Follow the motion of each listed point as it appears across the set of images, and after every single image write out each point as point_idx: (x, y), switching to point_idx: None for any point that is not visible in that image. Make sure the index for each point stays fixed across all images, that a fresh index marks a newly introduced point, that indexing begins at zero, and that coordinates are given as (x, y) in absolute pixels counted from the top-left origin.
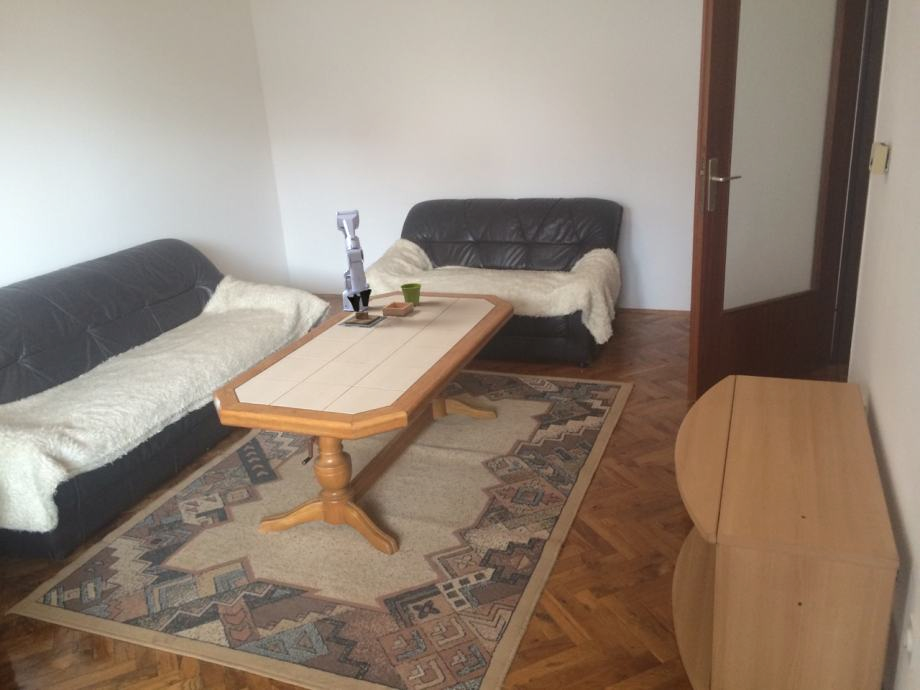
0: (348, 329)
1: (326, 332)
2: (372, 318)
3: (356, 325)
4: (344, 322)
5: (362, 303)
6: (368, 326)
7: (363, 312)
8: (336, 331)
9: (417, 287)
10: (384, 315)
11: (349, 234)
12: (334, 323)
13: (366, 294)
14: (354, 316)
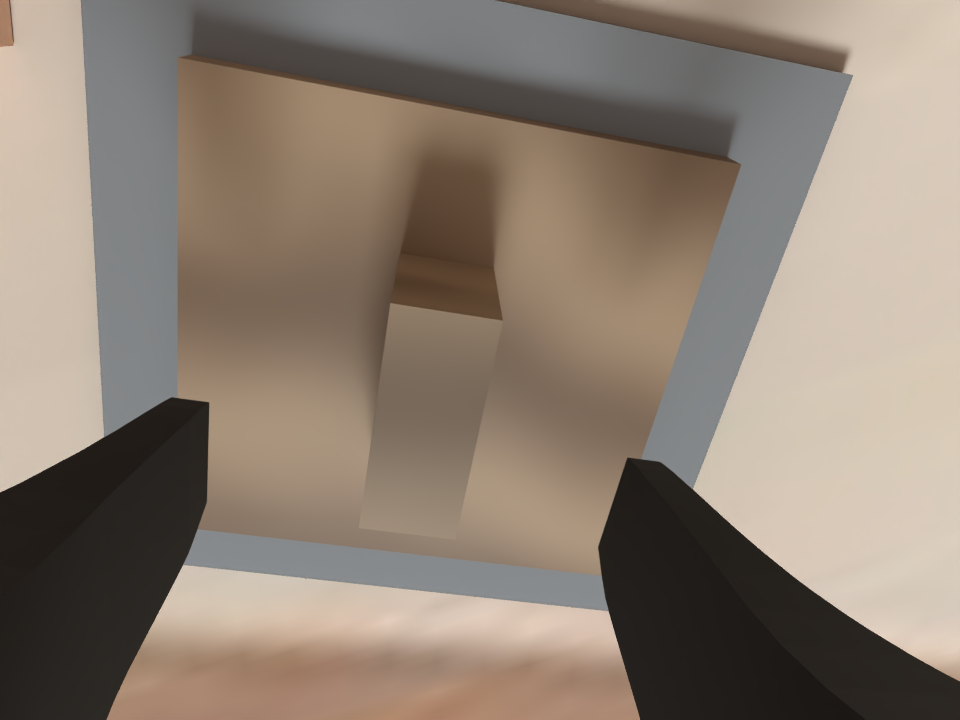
0: (856, 417)
1: (919, 635)
2: (411, 166)
3: (721, 355)
4: (535, 576)
5: (180, 566)
6: (834, 104)
7: (439, 390)
8: (911, 541)
9: None
10: (3, 5)
11: None
12: (526, 676)
13: (15, 677)
14: (304, 533)
